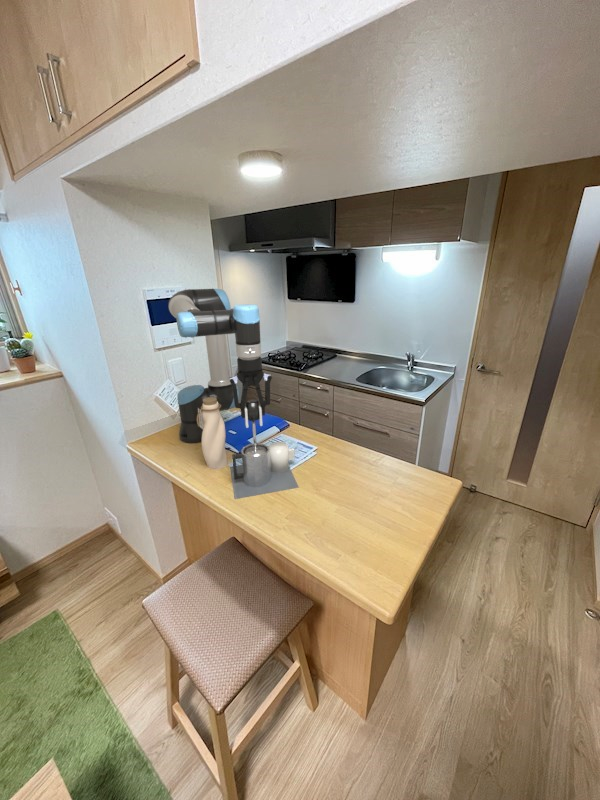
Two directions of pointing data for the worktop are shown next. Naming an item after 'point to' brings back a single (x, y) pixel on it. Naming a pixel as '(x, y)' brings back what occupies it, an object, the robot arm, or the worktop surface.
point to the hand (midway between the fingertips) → (253, 424)
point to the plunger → (253, 416)
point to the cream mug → (280, 457)
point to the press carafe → (254, 467)
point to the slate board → (276, 484)
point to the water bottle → (212, 433)
